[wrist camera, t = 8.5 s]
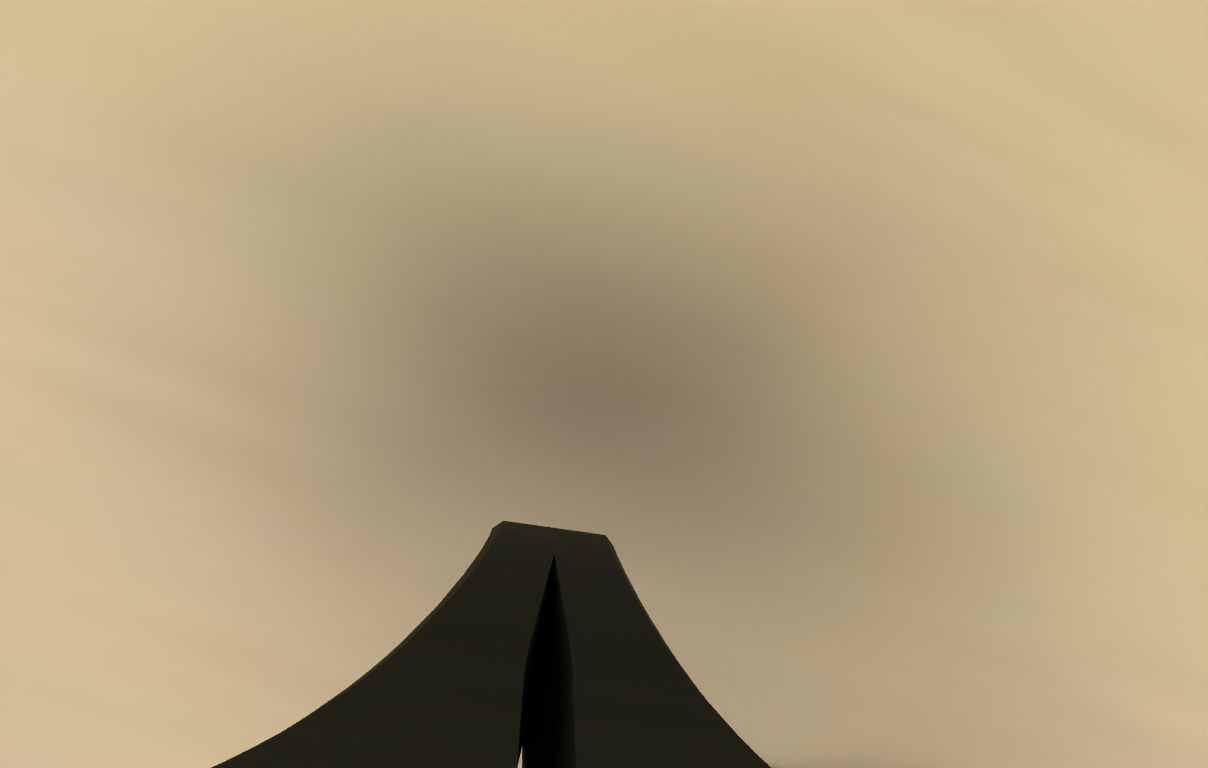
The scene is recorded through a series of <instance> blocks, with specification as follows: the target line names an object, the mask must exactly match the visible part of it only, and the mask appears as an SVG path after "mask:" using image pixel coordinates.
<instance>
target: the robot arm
mask: <svg viewBox="0 0 1208 768" xmlns="http://www.w3.org/2000/svg"><path fill="white" fill-rule="evenodd" d="M521 748H522V768H771V767H770V766H769V765H768V764H767V763H765V762H764V761H763V760H762V759H761V758H760V757H759V756H758V755H757V754H756V753H755V752H754V751H753V750H752V749H751V748H750V747H749V746H748V745H747V744H746V743H745V742H744V741H743V740H742V739H741V738H740V737H739V736H738V735H737V734H736V733H735V731H734V730H733V729H732V728H731V727H730V726H729V725H728V724H727V723H726V721H725V720H724V719H723V718H722V717H721V716H720V715H719V714H718V713H717V711H716V710H715V709H714V708H713V707H712V706H711V705H710V704H709V702H708V701H707V700H706V699H705V697H704V696H703V695H702V694H701V692H700V691H699V690H698V688H697V687H696V686H695V684H694V683H693V682H692V680H691V679H690V678H689V676H688V675H687V673H686V672H685V671H684V669H683V668H682V667H681V665H680V664H679V662H678V661H677V659H676V658H675V656H674V655H673V653H672V652H671V650H670V649H669V647H668V646H667V644H666V643H665V641H664V640H663V638H662V636H661V635H660V633H659V632H658V630H657V628H656V627H655V625H654V623H653V622H652V620H651V619H650V617H649V615H648V614H647V612H646V610H645V609H644V607H643V605H642V603H641V602H640V600H639V598H638V596H637V594H636V592H635V590H634V589H633V587H632V585H631V583H630V581H629V579H628V577H627V575H626V573H625V571H624V569H623V567H622V565H621V563H620V561H619V558H618V556H617V554H616V552H615V549H614V547H613V545H612V543H611V542H610V541H609V539H608V538H607V537H606V535H600V534H593V533H586V532H579V531H572V530H565V529H558V528H551V527H543V526H536V525H529V524H522V523H515V522H508V521H503V522H501V523H500V524H498V525H497V526H495V527H494V528H492V531H491V533H490V536H489V538H488V539H487V541H486V543H485V545H484V546H483V548H482V549H481V551H480V553H479V554H478V555H477V557H476V558H475V560H474V561H473V563H472V564H471V565H470V567H469V568H468V569H467V571H466V572H465V573H464V575H463V576H462V577H461V578H460V580H459V581H458V582H457V583H456V584H455V586H454V587H453V588H452V589H451V590H450V592H449V593H448V594H447V595H446V596H445V598H444V599H443V600H442V601H441V602H440V603H439V605H438V606H437V607H436V608H435V609H434V610H433V611H432V612H431V613H430V614H429V615H428V616H427V617H426V618H425V619H424V620H423V621H422V622H421V623H420V624H419V625H418V626H417V627H416V628H415V629H414V630H413V631H412V632H411V633H410V634H409V635H408V636H407V637H406V638H405V639H404V640H403V641H402V642H401V643H400V644H399V645H398V646H397V647H396V648H395V649H394V650H393V651H392V652H390V653H389V654H388V655H387V656H386V657H385V658H384V659H383V660H381V661H380V662H379V663H378V664H377V665H376V666H374V667H373V668H372V669H371V670H369V671H368V672H367V673H366V674H364V675H363V676H362V677H361V678H359V679H358V680H357V681H356V682H354V683H353V684H352V685H351V686H349V687H348V688H347V689H345V690H344V691H342V692H341V693H340V694H338V695H337V696H335V697H334V698H332V699H331V700H330V701H328V702H327V703H325V704H324V705H322V706H321V707H320V708H318V709H317V710H315V711H314V712H312V713H311V714H309V715H308V716H306V717H305V718H303V719H302V720H300V721H299V722H297V723H295V724H294V725H292V726H291V727H289V728H287V729H286V730H284V731H282V732H281V733H279V734H277V735H275V736H273V737H272V738H270V739H268V740H266V741H264V742H262V743H260V744H259V745H257V746H255V747H253V748H251V749H249V750H247V751H245V752H243V753H241V754H239V755H237V756H235V757H233V758H231V759H229V760H227V761H225V762H223V763H221V764H218V765H216V766H214V767H212V768H517V767H518V762H519V758H520V753H521Z"/></svg>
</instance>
